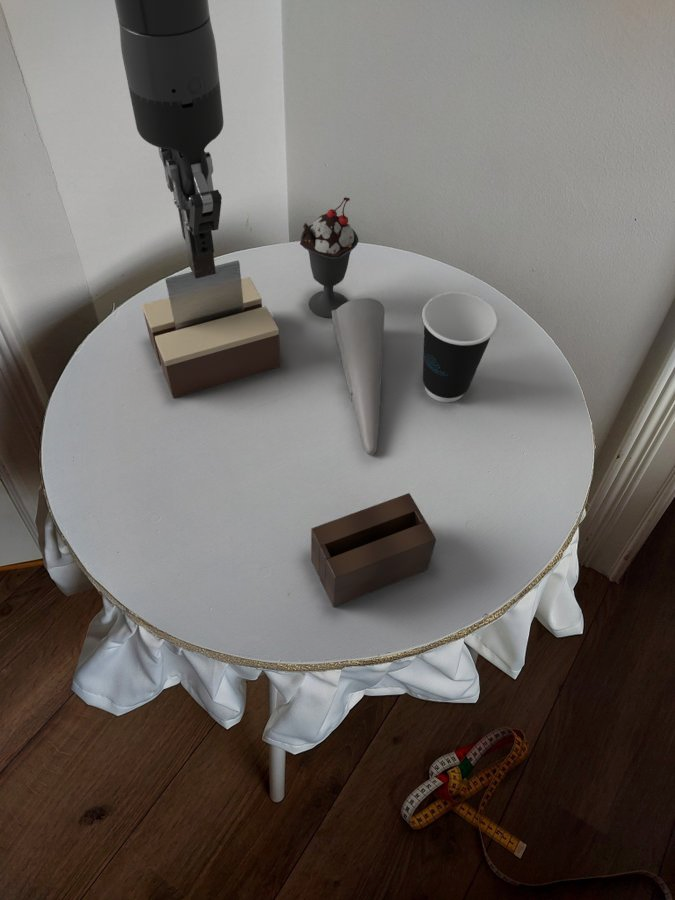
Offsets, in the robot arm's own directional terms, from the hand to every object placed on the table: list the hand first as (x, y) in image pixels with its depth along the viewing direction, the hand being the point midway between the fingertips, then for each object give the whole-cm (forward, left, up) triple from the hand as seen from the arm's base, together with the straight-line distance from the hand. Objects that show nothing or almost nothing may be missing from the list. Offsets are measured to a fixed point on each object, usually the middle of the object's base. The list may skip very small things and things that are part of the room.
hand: (198, 246), depth 74 cm
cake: (0, 0, -16) cm, 16 cm away
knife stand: (+5, -32, -16) cm, 36 cm away
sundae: (+16, +3, -16) cm, 23 cm away
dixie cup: (+23, -15, -16) cm, 32 cm away
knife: (0, 0, -13) cm, 13 cm away
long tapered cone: (+15, -12, -16) cm, 25 cm away
